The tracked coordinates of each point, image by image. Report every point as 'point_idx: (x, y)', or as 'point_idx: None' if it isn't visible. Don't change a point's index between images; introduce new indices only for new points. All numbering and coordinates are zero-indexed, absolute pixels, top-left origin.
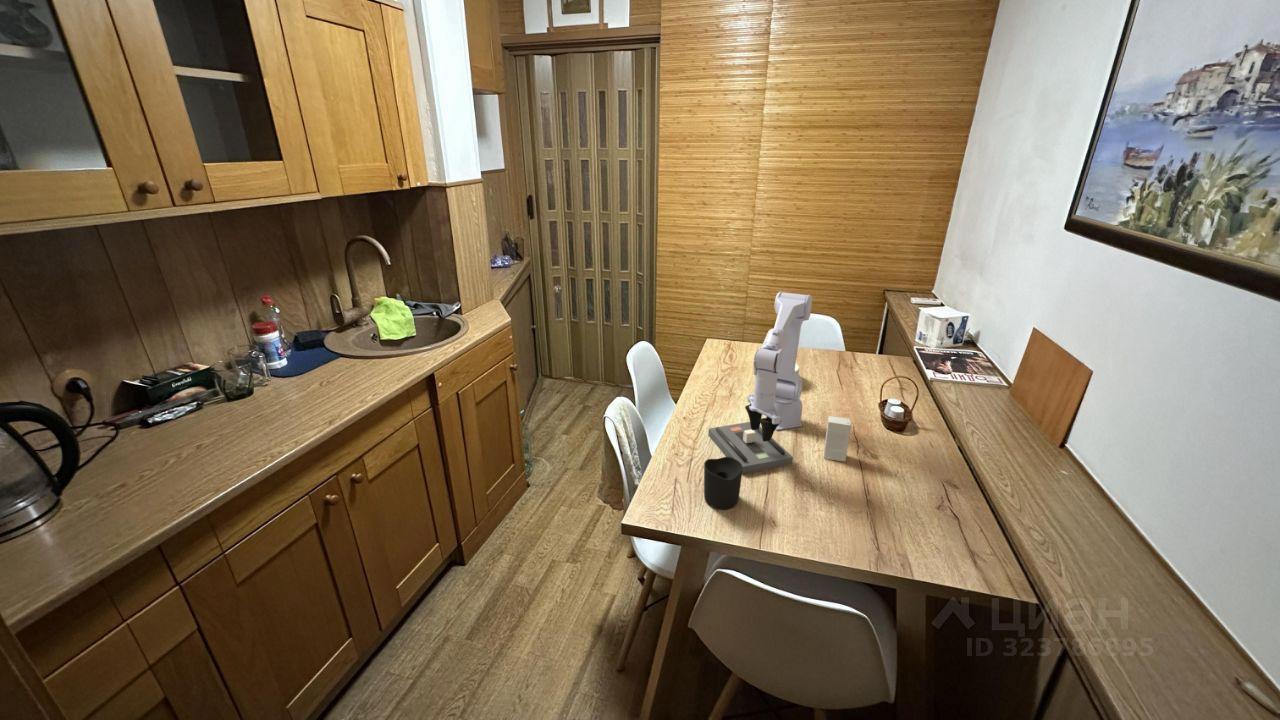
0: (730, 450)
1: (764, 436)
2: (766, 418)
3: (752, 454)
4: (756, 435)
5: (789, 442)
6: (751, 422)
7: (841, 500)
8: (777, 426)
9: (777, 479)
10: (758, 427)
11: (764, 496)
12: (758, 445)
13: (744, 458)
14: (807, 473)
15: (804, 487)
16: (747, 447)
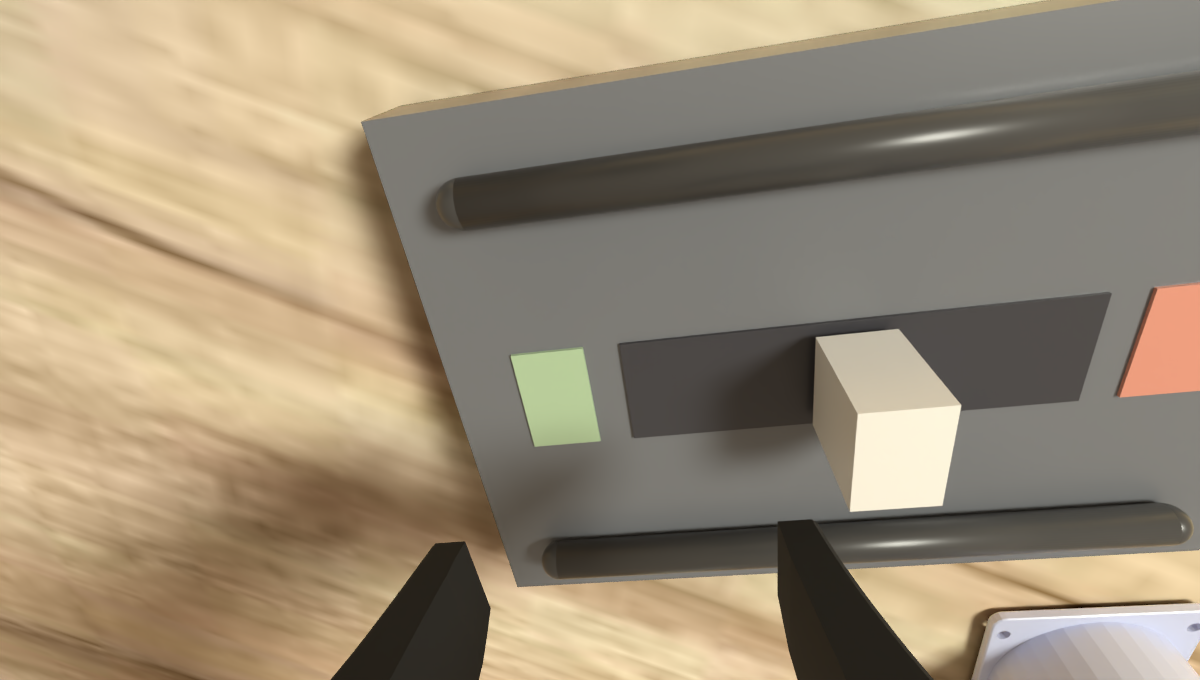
0: (745, 98)
1: (381, 623)
2: None
3: (605, 323)
4: None
5: None
6: (825, 641)
7: (169, 600)
8: (1030, 636)
9: (343, 382)
10: (785, 617)
11: (81, 199)
12: (753, 432)
13: (453, 197)
14: None
15: (264, 497)
16: (749, 322)
